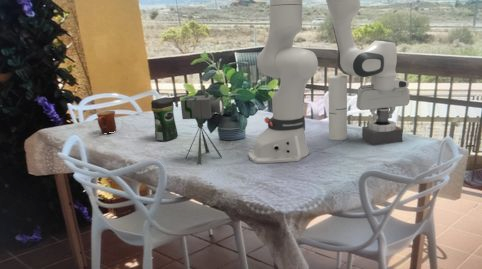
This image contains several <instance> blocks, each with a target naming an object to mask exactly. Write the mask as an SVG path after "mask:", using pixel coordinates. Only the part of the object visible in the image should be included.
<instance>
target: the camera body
mask: <svg viewBox="0 0 482 269" xmlns="http://www.w3.org/2000/svg"><path fill="white" fill-rule="evenodd" d="M396 124H397V123H396V122H395V121H393V120H389V119H388V125H376V120H371V121H368V126H367V125H366V126H362V127H361V128H362V130H361V131H362V133H361V135H362V136H361V139H362V140H363V141H365V142H366V143H368V144H369V145H371V146H379V145H387V144H388V145H389V144H396V143H402V142H403V134H404V133H403V130H404V129H403V128H401V127H400V126H397V125H396Z"/></svg>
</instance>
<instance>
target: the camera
mask: <svg viewBox="0 0 482 269" xmlns="http://www.w3.org/2000/svg"><path fill="white" fill-rule="evenodd" d="M224 106H225V105H224V99H223V97H222V96H220V97H218V98H217V99H215V97H214V94H210V91H208V92H204V93H203V95H185V97H184V98H181V100H180V108H181V115H182V116H181V118H182V120H197V127H198V129H197V131H196V133H195V136H194V138H193V140H192V143H191V145H190V147H189V149H188V152H187V154H186V157H185V158H186V159H187V158H188V156H189V154H190V152H191V148H192V146H193V144H194V142H195V140H196V137H197V135H198V134H199V135H198V149H197V150H198V151H197V164H201V165H202V141H203V145H204V149H205V153H210V149H209V146H208V144H207V140H206V137H207V138H208V141H209V142H210V144H211V145H212V146H213V149H215V151H216V153H217V154H218V156H219V158H220V159H223V155H222V154H221V152H219V150H218V148H217V147H216V145H215V144H214V142H213V141H212V139H211V137H209V135H208V134H207V132H206V130H205V129H204V128H203V127H204V124H203V120H204V119H207V120H208V119H211V118H212V117H213V116H214V115H215V114H217V115H220V116H223V115H224V110H225V109H224V108H225V107H224ZM198 132H199V133H198ZM205 135H206V137H205ZM197 164H196V165H197Z"/></svg>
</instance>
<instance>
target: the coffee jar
mask: <svg viewBox="0 0 482 269" xmlns="http://www.w3.org/2000/svg"><path fill="white" fill-rule="evenodd" d="M150 107H151V112H152V113H153V118H154V134H155V140H157V141H158V142H167V141H171V140H173V139H176V138H177V137H178V136H179V135H178V130H177V124H176V121H175V116H174V115H175V114H174V109H175V108H174V107H175V105H174V101H173V98H172V97H160V98H156V99H152V100H151V102H150Z"/></svg>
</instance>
